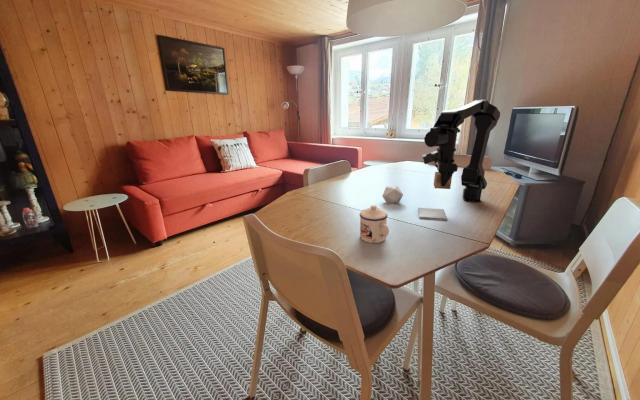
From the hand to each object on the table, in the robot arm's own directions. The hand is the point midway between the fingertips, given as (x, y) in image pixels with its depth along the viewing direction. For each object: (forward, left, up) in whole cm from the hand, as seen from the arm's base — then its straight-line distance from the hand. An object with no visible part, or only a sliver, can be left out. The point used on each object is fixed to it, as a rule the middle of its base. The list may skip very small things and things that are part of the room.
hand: (441, 184), depth 104 cm
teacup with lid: (+23, +30, -12) cm, 40 cm away
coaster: (+3, +4, -12) cm, 13 cm away
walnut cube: (0, 0, -1) cm, 1 cm away
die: (+19, -7, -12) cm, 24 cm away
